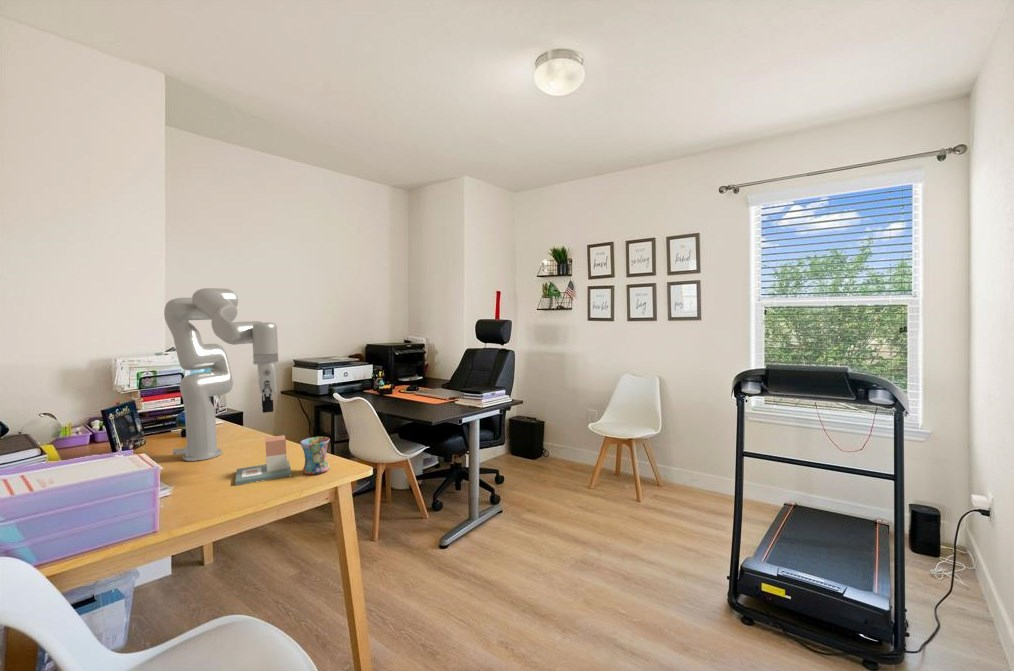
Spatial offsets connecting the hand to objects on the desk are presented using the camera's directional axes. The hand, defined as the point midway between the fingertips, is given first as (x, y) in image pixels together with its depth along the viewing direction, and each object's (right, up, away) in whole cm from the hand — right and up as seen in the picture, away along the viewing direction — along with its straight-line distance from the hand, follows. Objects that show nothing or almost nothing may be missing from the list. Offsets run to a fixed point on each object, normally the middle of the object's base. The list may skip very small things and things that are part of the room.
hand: (267, 409), depth 161 cm
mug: (+18, -21, -3) cm, 28 cm away
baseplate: (0, -21, -3) cm, 21 cm away
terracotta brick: (+3, -15, -1) cm, 15 cm away
